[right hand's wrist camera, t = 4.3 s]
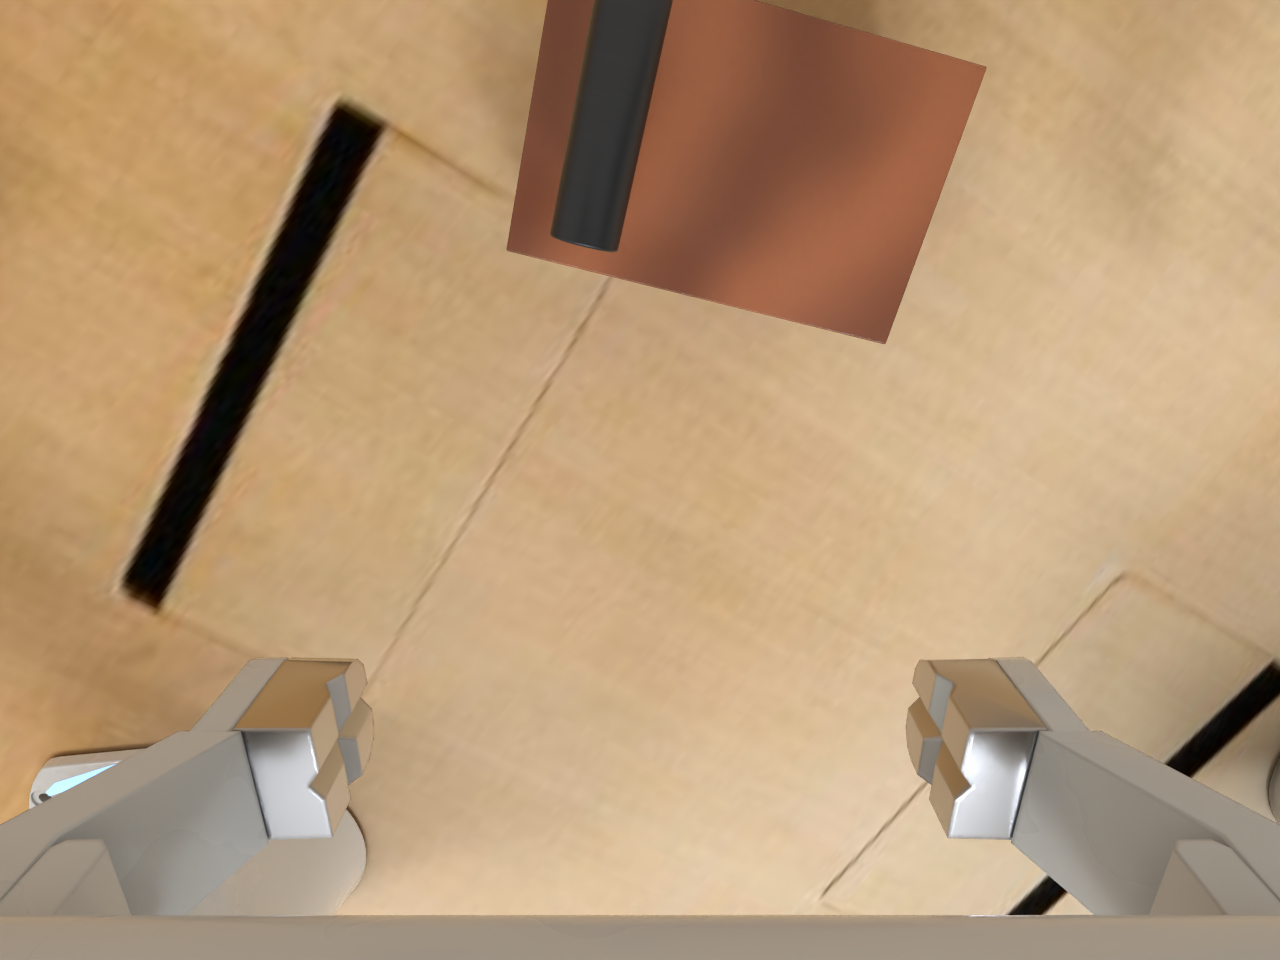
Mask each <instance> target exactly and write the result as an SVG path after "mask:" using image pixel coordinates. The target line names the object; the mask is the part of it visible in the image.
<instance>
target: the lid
mask: <svg viewBox="0 0 1280 960" xmlns="http://www.w3.org/2000/svg"><path fill="white" fill-rule="evenodd" d="M985 71H986V67H985V66H982V65H979V64H975V63H972V62H968V61H965V60H961V59H958V58H954V57H951V56H947V55H944V54H941V53H937V52H934V51H930V50H927V49H923V48H920V47H916V46H913V45H909V44H906V43H902V42H899V41H895V40H892V39H888V38H885V37H881V36H878V35H874V34H871V33H867V32H864V31H861V30H857V29H854V28H850V27H847V26H843V25H840V24H836V23H833V22H829V21H826V20H822V19H819V18H815V17H812V16H808V15H805V14H801V13H798V12H794V11H791V10H787V9H784V8H781V7H777V6H774V5H770V4H767V3H763V2H760V1H756V0H548V3H547V9H546V15H545V21H544V27H543V33H542V39H541V45H540V51H539V57H538V63H537V69H536V75H535V81H534V87H533V93H532V99H531V105H530V111H529V117H528V123H527V129H526V136H525V142H524V148H523V154H522V160H521V166H520V172H519V178H518V184H517V190H516V196H515V202H514V208H513V214H512V220H511V226H510V232H509V238H508V244H507V251H510V252H514V253H518V254H522V255H526V256H530V257H534V258H538V259H542V260H546V261H550V262H555V263H559V264H563V265H567V266H571V267H575V268H579V269H583V270H587V271H591V272H595V273H599V274H603V275H607V276H611V277H615V278H619V279H623V280H627V281H631V282H635V283H639V284H643V285H647V286H651V287H656V288H660V289H664V290H668V291H672V292H676V293H680V294H684V295H688V296H692V297H696V298H700V299H704V300H708V301H712V302H716V303H720V304H724V305H728V306H732V307H736V308H740V309H744V310H748V311H752V312H756V313H761V314H765V315H769V316H773V317H777V318H781V319H785V320H789V321H793V322H797V323H801V324H805V325H809V326H813V327H817V328H821V329H825V330H829V331H833V332H837V333H841V334H845V335H849V336H853V337H857V338H861V339H866V340H870V341H874V342H878V343H882V344H885V343H886V341H887V338H888V335H889V333H890V330H891V327H892V325H893V322H894V319H895V316H896V314H897V311H898V308H899V305H900V303H901V300H902V297H903V295H904V292H905V289H906V286H907V284H908V281H909V278H910V275H911V273H912V270H913V267H914V265H915V262H916V259H917V256H918V254H919V251H920V248H921V245H922V243H923V240H924V237H925V235H926V232H927V229H928V226H929V224H930V221H931V218H932V215H933V213H934V210H935V207H936V205H937V202H938V199H939V196H940V194H941V191H942V188H943V185H944V183H945V180H946V177H947V175H948V172H949V169H950V166H951V164H952V161H953V158H954V155H955V153H956V150H957V147H958V145H959V142H960V139H961V136H962V134H963V131H964V128H965V125H966V123H967V120H968V117H969V115H970V112H971V109H972V106H973V104H974V101H975V98H976V95H977V93H978V90H979V87H980V84H981V82H982V79H983V76H984V74H985Z"/></svg>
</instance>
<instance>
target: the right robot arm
mask: <svg viewBox="0 0 1280 960" xmlns="http://www.w3.org/2000/svg"><path fill="white" fill-rule="evenodd" d="M366 685H367V678H366V674H365V669H364V664H363V663H361V662H360V661H359V660H358V659H333V658H255V659H252V660H250V661H248V662H247V663H246V665H245V666H244V667H243V668H242V669H241V671H240V672H239V673H238V674H237V675H236V677H235V678H234V679H233V680H232V681H231V683H230V684H229V685H228V686H227V687H226V689H225V690H224V691H223V692H222V693H221V695H220V696H219V697H218V698H217V699H216V701H215V702H214V703H213V704H212V705H211V706H210V708H209V709H208V710H207V711H206V712H205V714H204V715H203V716H202V717H201V718H200V720H199V721H198V722H197V723H196V724H195V726H194V727H193V728H192V729H191V730H190V731H178V732H176V733H174V734H172V735H170V736H169V737H167V738H165V739H163V740H161V741H159V742H157V743H155V744H153V745H151V746H149V747H148V748H144V749H133V750H123V751H112V752H102V753H91V754H80V755H70V756H61V757H55V758H51V759H49V760H48V761H47V762H46V764H45V765H44V766H43V767H42V768H41V770H40V771H39V772H38V774H37V776H36V778H35V780H34V782H33V784H32V788H31V791H30V798H29V810H27V811H25V812H23V813H21V814H20V815H18V816H16V817H14V818H12V819H10V820H8V821H6V822H4V823H2V824H0V960H1280V825H1279V824H1277V823H1275V822H1273V821H1271V820H1269V819H1268V818H1266V817H1264V816H1262V815H1260V814H1258V813H1256V812H1254V811H1252V810H1250V809H1249V808H1247V807H1245V806H1243V805H1241V804H1239V803H1237V802H1235V801H1233V800H1231V799H1230V798H1228V797H1226V796H1224V795H1222V794H1220V793H1218V792H1216V791H1214V790H1212V789H1210V788H1209V787H1207V786H1205V785H1203V784H1201V783H1199V782H1197V781H1195V780H1193V779H1191V778H1190V777H1188V776H1186V775H1184V774H1182V773H1180V772H1178V771H1176V770H1174V769H1172V768H1170V767H1169V766H1167V765H1165V764H1163V763H1161V762H1159V761H1157V760H1155V759H1153V758H1151V757H1150V756H1148V755H1146V754H1144V753H1142V752H1140V751H1138V750H1136V749H1134V748H1132V747H1130V746H1129V745H1127V744H1125V743H1123V742H1121V741H1119V740H1117V739H1115V738H1113V737H1111V736H1110V735H1108V734H1106V733H1104V732H1102V731H1090V730H1089V729H1088V728H1087V727H1086V726H1085V724H1084V723H1083V722H1082V721H1081V720H1080V718H1079V717H1078V716H1077V715H1076V714H1075V713H1074V711H1073V710H1072V709H1071V708H1070V707H1069V705H1068V704H1067V703H1066V702H1065V701H1064V699H1063V698H1062V697H1061V696H1060V695H1059V693H1058V692H1057V691H1056V690H1055V689H1054V687H1053V686H1052V685H1051V684H1050V683H1049V682H1048V680H1047V679H1046V678H1045V677H1044V676H1043V674H1042V673H1041V672H1040V671H1039V670H1038V668H1037V667H1036V666H1035V665H1034V664H1033V662H1032V661H1030V660H1028V659H1026V658H1024V657H1009V658H989V659H948V660H919V662H918V664H917V666H916V668H915V672H914V678H913V685H914V687H915V689H916V691H917V693H918V694H919V696H920V697H919V698H918V699H917V700H916V701H915V702H914V703H913V704H912V705H911V706H910V707H909V708H908V714H907V722H906V736H907V747H908V751H909V754H910V758H911V761H912V764H913V766H914V768H915V770H916V772H917V775H919V776H920V777H921V778H923V779H924V780H925V781H927V782H928V783H930V784H931V785H932V786H931V792H930V797H929V800H930V802H931V804H932V806H933V808H934V810H935V812H936V815H937V817H938V819H939V821H940V823H941V825H942V827H943V829H944V831H945V833H946V835H947V837H948V838H967V839H1002V840H1012V841H1011V843H1012V844H1013V845H1014V846H1015V847H1017V848H1018V849H1019V850H1020V851H1021V852H1022V853H1023V854H1025V855H1026V856H1027V857H1028V858H1029V859H1030V860H1032V861H1033V862H1034V863H1035V864H1036V865H1037V866H1039V867H1040V868H1041V869H1042V870H1043V871H1044V872H1046V873H1047V874H1048V875H1049V876H1050V877H1051V878H1052V879H1054V880H1055V881H1056V882H1057V883H1058V884H1059V885H1061V886H1062V887H1063V888H1064V889H1065V890H1066V891H1068V892H1069V893H1070V894H1071V895H1072V896H1073V897H1074V898H1076V899H1077V900H1078V901H1079V902H1080V903H1081V904H1083V905H1084V906H1085V907H1086V908H1087V909H1088V910H1090V911H1091V912H1092V913H1093V914H1094V915H335V913H336V912H337V910H338V909H339V907H340V906H341V905H342V903H343V902H344V901H345V900H346V898H347V897H348V896H349V895H350V894H351V892H352V891H353V890H354V889H355V888H356V886H357V885H358V883H359V882H360V880H361V878H362V875H363V873H364V870H365V865H366V847H365V842H364V839H363V836H362V833H361V831H360V829H359V827H358V825H357V823H356V821H355V820H354V818H353V817H352V816H351V814H350V813H349V812H348V811H347V809H346V808H347V806H348V804H349V802H350V800H351V797H350V792H349V786H348V785H349V784H350V783H352V782H353V781H355V780H356V779H357V778H359V777H360V776H361V775H363V772H364V770H365V768H366V766H367V763H368V761H369V759H370V754H371V750H372V745H373V740H374V720H373V713H372V708H371V707H370V706H369V705H368V704H367V703H366V702H365V701H364V700H363V699H362V698H361V697H360V696H361V694H362V693H363V691H364V689H365V687H366Z"/></svg>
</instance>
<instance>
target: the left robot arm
mask: <svg viewBox="0 0 1280 960" xmlns="http://www.w3.org/2000/svg"><path fill="white" fill-rule="evenodd" d="M1269 802H1270V807H1271V810H1272V813H1273V815H1274V817H1275V819H1276V821H1277V822H1278V824H1279V825H1280V758H1279V760H1278V762H1277V764H1276V766H1275V768H1274V771H1273V774H1272V777H1271V781H1270V786H1269Z"/></svg>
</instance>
